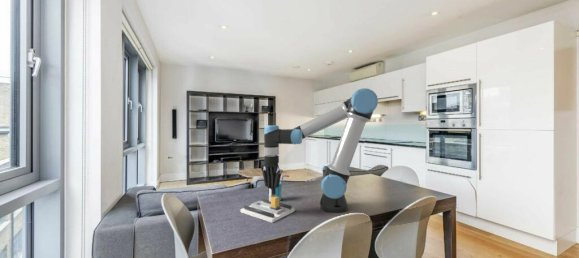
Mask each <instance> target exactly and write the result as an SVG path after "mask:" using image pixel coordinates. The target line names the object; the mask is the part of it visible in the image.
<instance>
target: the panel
mask: <svg viewBox="0 0 579 258" xmlns="http://www.w3.org/2000/svg"><path fill="white" fill-rule="evenodd" d="M270 207H271V201H269V199H266V198H262V200H258V201H256V202H253V203H251V204H250V205H243V208H240V213H242V214H245V215H247V216H251V217H254V218H256V219H260V220H264V221H265V222H268V223H275V222H277V221H279V220H280V219H282V218H285V217H286V216H289V215H290V214H292V213H294V212H296V211H295V210H296V208H295V207H293V206H292V204H291V205H290V204H286V203H283V202H279V207H280V209H279V210H273V209H270Z"/></svg>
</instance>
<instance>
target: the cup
mask: <svg viewBox="0 0 579 258" xmlns="http://www.w3.org/2000/svg"><path fill="white" fill-rule="evenodd" d="M281 176H282V177H281V178H280V182H279V187H277V188H276V189H275V196H278V197H279V202H281V200H282V190H283V183H284V182H283V180H284V177H285V178H286V177H287V178H289V177H290V175H287V174H283V175H281Z"/></svg>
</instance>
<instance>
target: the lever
mask: <svg viewBox="0 0 579 258" xmlns="http://www.w3.org/2000/svg"><path fill="white" fill-rule="evenodd" d="M279 203H280V201H279V197H278V196H273V197H271V207H270V209H273V210H279V209H280V207H279Z"/></svg>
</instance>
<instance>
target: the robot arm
mask: <svg viewBox="0 0 579 258" xmlns="http://www.w3.org/2000/svg"><path fill="white" fill-rule="evenodd" d="M378 104H379V98H378V95H377V94H376V92H375V91H374V90H372V89H370V88H365V87H364V88H359V89H357V90H355V92H353V94H352V96H351V97H349V98H348V99H346V100H344V101H343V102H342V103H341V105H339V106H337V107H335V108H333V109H330V110H329V111H327V112H324V113H322V114H320V115H318V116H316V117H315V118H312V119H310V120H308V121H305V122H304V123H302V124H300V125H298V126H296V127H294V128H291V129H290V128H287V129H285V128H284V129H282V128H280V126H279V125H268V124H267V125H265V126H264V129H263V130H264V132H263V133H264V134H263V135H264V136H263V140H264V141H263V142H264V143H263V145H264V148H263V149H264V150H263V153H264V154H263V155H264V156H263V159H264V160H263V161H264V166H263V167H261V168H260V169H261V172H262V177H263V181H264V186H265V187H266V188H267V189H268V190H267V194H268V200H269V201H271V197H273V196H275V189H276V188H277V187H279V182H280V181H281V178H282V177H281V176H282V173H283V172H284V171H283V169H280V166H279V162H280V156H279V155H280V145H284V144H285V145H302V143H303V140H304V139H306V138H308V137H310V136H312V135H314V134H316V133H319V132H320V131H322V130H326V129H327V128H328V127H331V126H333V125H335V124H337V123H339V122H341V121H344V120H346V122H345V125H344V128H343V130H342V133H341V137H340V139H339V142H338V144H337V147H336V149H335V152H334V156H333V158H332V161H331V163H329V164H328V165H323V167H322V177H321V178H322V179H321V182H320V189H321V191H322V195H321V197H320V201H319V209H321V210H323V211H324V212H329V213H343V212H346V211H347V210H348V207H349V206H348V201H347V198H346V196H345V193H346V192H347V187H348V182H349V180H350V176H351V173H350V166H351V165H352V162H353V158H354V156H355V153H356V151H357V149H358V148H357V147H358V145H359V142H360V139H361V137H362V134H363V131H364V129H365V125H366V123H368V122H370V121H371V118H372V115H373V114H374V111H375V110H376V109H377V107H378Z"/></svg>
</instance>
